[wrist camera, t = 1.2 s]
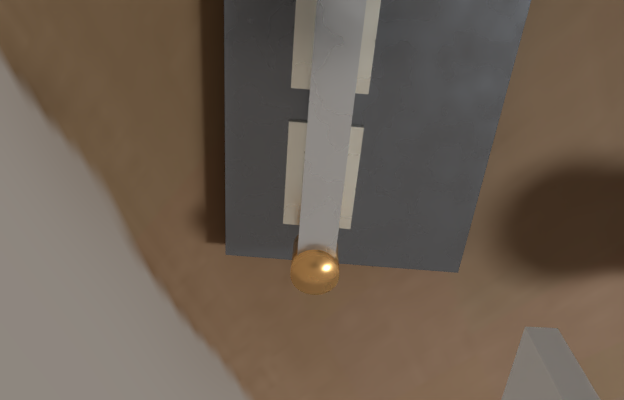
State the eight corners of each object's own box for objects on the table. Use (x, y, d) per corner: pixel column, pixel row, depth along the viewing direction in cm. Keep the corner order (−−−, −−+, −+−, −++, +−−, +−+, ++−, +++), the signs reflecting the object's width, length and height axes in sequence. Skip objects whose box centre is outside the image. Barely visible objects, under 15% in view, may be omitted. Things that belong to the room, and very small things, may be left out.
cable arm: (315, -127, 22) (314, -134, 19) (387, -120, 22) (396, -127, 19) (289, 262, 32) (285, 292, 29) (338, 266, 32) (339, 296, 29)
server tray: (228, -125, 25) (217, -132, 22) (545, -97, 25) (571, -100, 23) (229, 242, 35) (221, 267, 33) (453, 259, 36) (463, 286, 33)
